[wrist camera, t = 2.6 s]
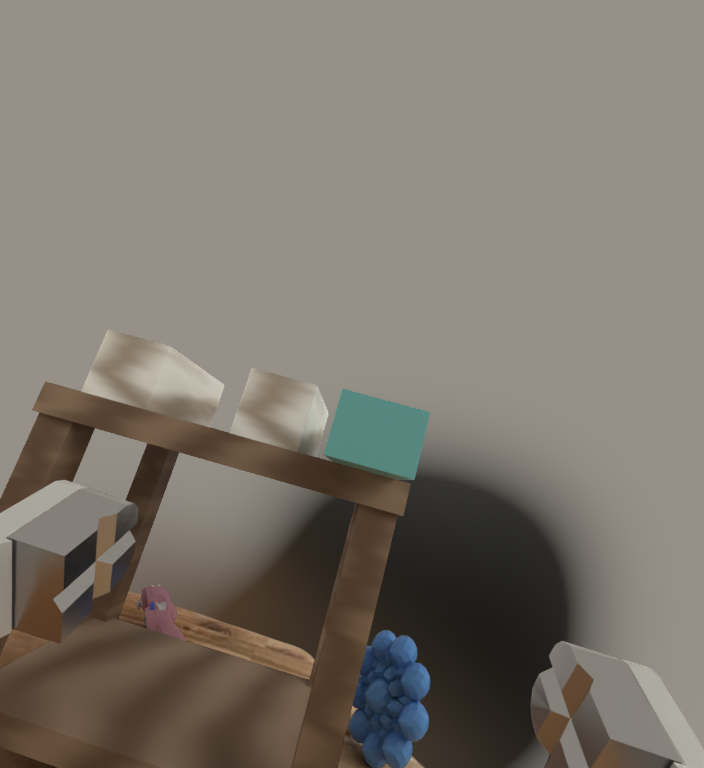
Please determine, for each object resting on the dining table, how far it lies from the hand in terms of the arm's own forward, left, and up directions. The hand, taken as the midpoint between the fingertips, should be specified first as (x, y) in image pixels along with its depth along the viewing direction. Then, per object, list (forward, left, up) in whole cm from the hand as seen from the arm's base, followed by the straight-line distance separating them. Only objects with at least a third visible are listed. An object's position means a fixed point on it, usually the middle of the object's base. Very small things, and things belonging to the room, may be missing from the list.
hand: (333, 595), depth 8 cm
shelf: (+9, -27, -23) cm, 37 cm away
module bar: (0, -21, +3) cm, 21 cm away
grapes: (-9, -38, -23) cm, 46 cm away
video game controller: (+19, -48, -24) cm, 57 cm away
